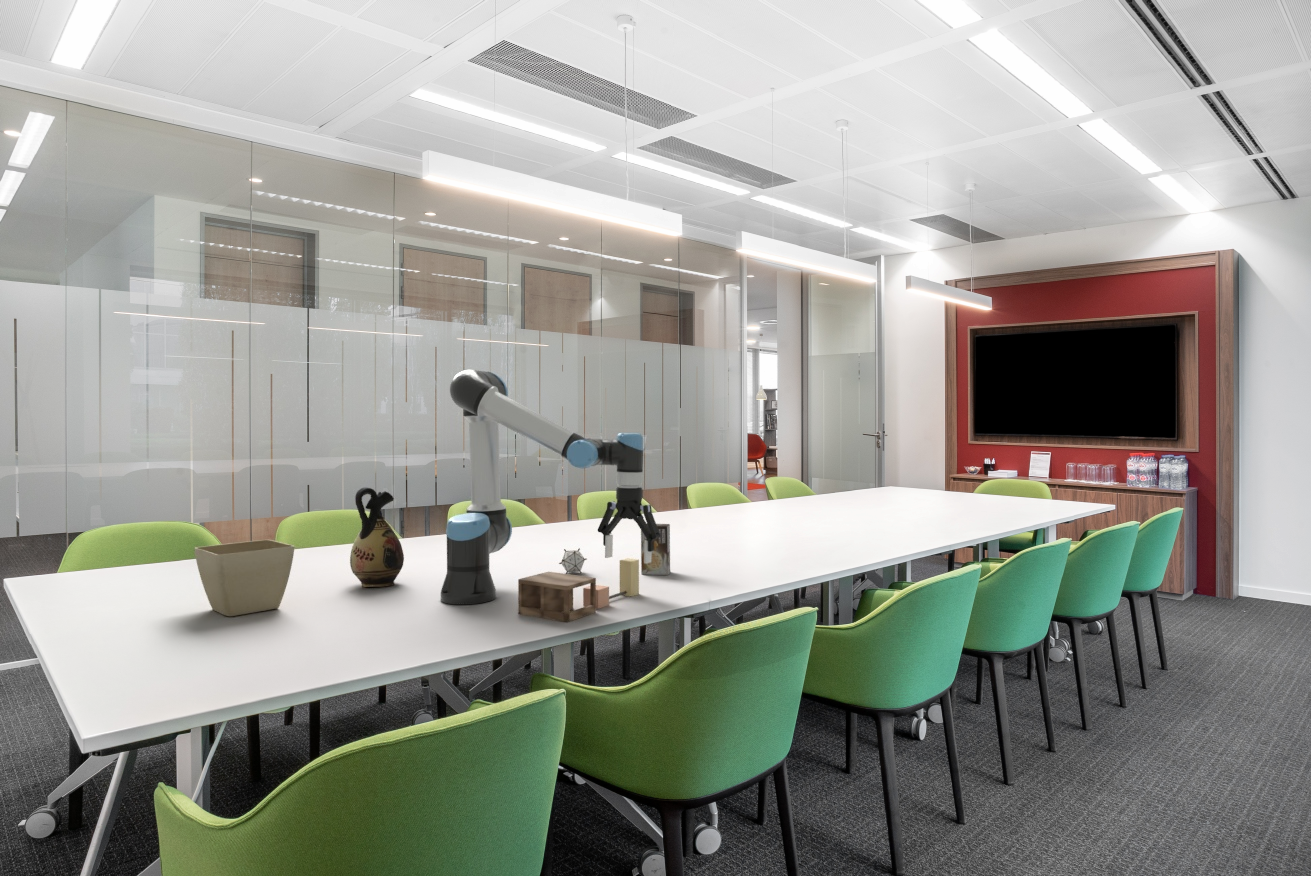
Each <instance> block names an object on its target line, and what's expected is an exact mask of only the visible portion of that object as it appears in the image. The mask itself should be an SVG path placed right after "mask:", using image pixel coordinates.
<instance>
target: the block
mask: <svg viewBox="0 0 1311 876" xmlns="http://www.w3.org/2000/svg"><path fill="white" fill-rule="evenodd" d="M582 590H583V591H582V598H583V600H582V601H583V602H582V606H583V607H586V606H589V605H590V585H588V586H586V587H583V588H582ZM623 595H625V596H624V597H630V596H632V597H635V596H637V595H640V560H639V559H636V558H623V559H620V560H619V593H615V594H612V595H610V586H607V585H606V586H605V585H600V584H596V610H597V609H601V608H605V607H607V606H609V605H610V600H612V599H615V598H617V597H619V596H620V597H621V596H623ZM634 595H635V596H634Z"/></svg>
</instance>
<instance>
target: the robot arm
mask: <svg viewBox="0 0 1311 876" xmlns="http://www.w3.org/2000/svg"><path fill="white" fill-rule="evenodd" d="M449 385H450V386H449V394H450V397H451V399H452V401H453V402H454V404H455V405H457V407H459V408H460V409H462V413H463V418H464V420H466V421H467V422H468V433H469V434H468V435H469V437H468V438H469V440H468V441H469V465H470V466H469V467H470V493H471V494H470V497H471V500H470V501H471V503H470V505H468V507H467V508H466V511H465V513H462V514H456V515H454V516H451V517H450V518H449V519H448V521H447V522H446V529H445V534H446V575H445V578H444V580H443V584H442V587H441V590H440V601H441V602H442V603H444V604H449V605H476V604H482V603H488V602H490V601H493V600H495V599H496V598H497V590H496V586H495V583H494V579H493V577H492V574H491V570H490V554H493V553H496V552H498V551H500V550H501V549H503V548H504V547H505V546H506V545H507V544H508V543H509V541H510V540H511V537H512V534H513V526H512V522H511V521H510V519H509V518H508V517H507V506H506V505H505V504H503V503H502V501H501V500H502V498H501V472H500V471H501V470H500V469H501V466H500V464H501V463H500V462H501V461H500V440H499V439H500V438H499V437H500V435H499V434H500V433H499V432H500V431H499V424H500V425H502V426H503V427H505V428H508V429H509V430H511V431H513V432H515V433H517V434H519V435H521V436H523V437H525V438H526V439H528V440H530V441H532V442H533V443H535V444H537V445H540V446H541V447H543V448H545V449H547V450H549V451H550V452H553V453H554V454H556V455H558V456H560V457H562V458H564V459H566V460H567V461H568V462H569V464H570V465H572V466H573V467H575V468H578V469H587V468H590V467H595V466H616V477H615V478H616V480H615V481H616V485H617V487H616V489H615V491H616V492H615V499H616V502H615V501H613V500H612V501H608V502H607V504H606V510H605V512H604V514H603V517H602V519H601V521H600V523H599V526H598V528H597V532H598V533H601V534H602V535H603V537H602V538H603V540H602V541H603V543H602V544H603V546H605V547H604V549H605V550H604V558H606V559H609V558H613V551H614V549H613V547H614V546H613V545H614V544H613V543H614V542H613V541H614V540H613V539H614V534H612V532H613V531H614V529H615V528H616V527H617V525H619V523H620V522H621V521H622V519H623V520H624V519H626V520H627V519H628V520H633V521H634V522H635V523H636V524H637V526H638V527H639V529H640V531H641V530H642V532H643V534H644V535H645V537H646V538H647V540H645V541H644V563H646V564H647V563H650V562H651V557H652V551H654V540H655V539H657V538H660V533H659V530H658V527H657V525H656V524H657V523H656V520H655V517H654V515H653V512H652V511H653V510H652V505H651V504H644V505H642V500H643V488H642V486H643V475H644V474H643V473H644V472H643V468H644V450H645V449H644V437H643V435H642V434H641V433H635V432H629V433H628V432H620V433H619V432H618V434H617V435H616V438H615V439H614V438H613V439H608V438H607V439H603V438H590V437H588V438H585V437H583V435H580V434H578V433H576V432H574V431H572V430H571V429H568V428H567V427H565V426H563V425H561V424H559V423H557V422H555V421H554V420H551V419H549V418H548V417H546V416H544V415H542V414H541V413H538V412H536V411H534V410H533V409H531V408H529V407H527V406H525V405H523V404H521V403H520V402H518V401H516V400H515V399H512V398H510V397H508V396H509V395H508V394H509V391H508V387H507V384H506V382H505V381H504V380H503V379H502V377H500V376H499V375H497V374H495V373H493V372H490V371H484V370H477V369H466V370H462V371H460V372H458V373H457V374H455V376H454V377H453V378H452V380H451V382H450V384H449ZM615 510H617V512H616V513H615ZM641 512H642V513H643V514H642V513H641ZM613 515H614V516H613ZM612 517H613V518H612ZM644 518H645V519H644ZM647 524H648V525H647Z"/></svg>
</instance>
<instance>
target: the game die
mask: <svg viewBox="0 0 1311 876" xmlns="http://www.w3.org/2000/svg"><path fill="white" fill-rule="evenodd" d="M580 550H581V549H580V547H579V548H578V550H577V549H576V550H572V549H571V550H566V549H565V548H564V549H563V551H564V554H563V557H562V560H561V561H560V562H559V563H558V564H559V565H562V567H563V568H564V570H565V572H566V573H565V574H569V573H580V574H581V573H583V572H582V569H583V565H584V563H585V561H587V560H588V558H584V556H583V554H582V553H581V551H580Z"/></svg>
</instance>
